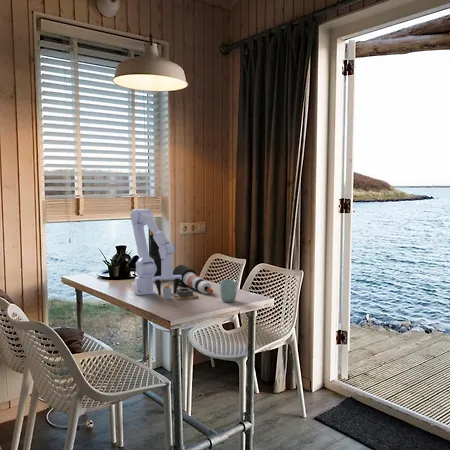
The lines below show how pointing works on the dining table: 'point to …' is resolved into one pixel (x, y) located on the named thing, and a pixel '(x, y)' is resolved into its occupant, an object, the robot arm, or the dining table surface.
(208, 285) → the cable
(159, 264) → the bottle
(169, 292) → the connector
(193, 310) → the dining table surface
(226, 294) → the cup
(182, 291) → the holder
